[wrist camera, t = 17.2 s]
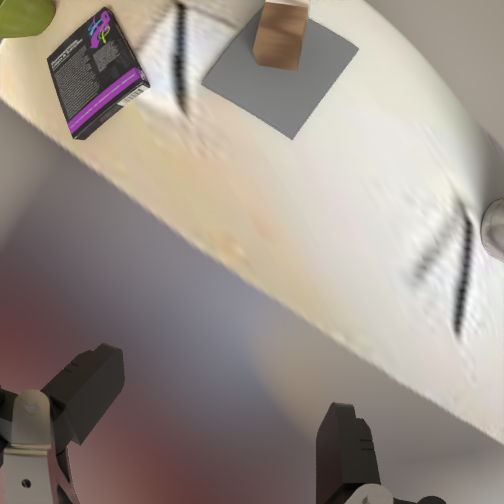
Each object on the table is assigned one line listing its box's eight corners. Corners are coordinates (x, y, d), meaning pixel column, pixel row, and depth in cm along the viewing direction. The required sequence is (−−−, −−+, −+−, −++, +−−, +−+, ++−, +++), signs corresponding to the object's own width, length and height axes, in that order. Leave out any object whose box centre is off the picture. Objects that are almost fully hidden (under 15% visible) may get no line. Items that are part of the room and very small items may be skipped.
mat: (357, 51, 31) (359, 48, 30) (292, 140, 35) (292, 139, 34) (269, 3, 30) (269, 0, 29) (203, 86, 35) (201, 84, 34)
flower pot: (16, 31, 34) (-32, 18, 19) (59, -18, 30) (14, -42, 15) (28, 64, 36) (-30, 51, 21) (77, 8, 32) (22, -21, 17)
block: (296, 71, 32) (309, 12, 29) (297, 57, 27) (310, -7, 24) (257, 65, 32) (272, 6, 29) (252, 50, 28) (269, -13, 25)
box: (153, 88, 37) (114, 11, 33) (143, 83, 33) (104, 3, 30) (86, 141, 40) (56, 61, 36) (72, 140, 36) (44, 57, 33)
